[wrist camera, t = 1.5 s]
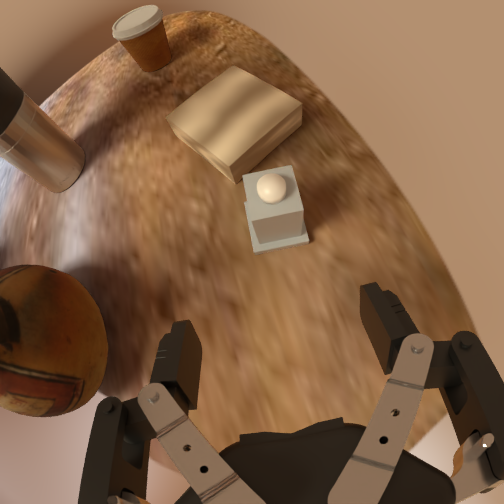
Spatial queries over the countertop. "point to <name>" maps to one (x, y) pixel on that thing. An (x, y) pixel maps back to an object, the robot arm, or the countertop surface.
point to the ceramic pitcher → (48, 342)
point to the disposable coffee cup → (144, 37)
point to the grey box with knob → (274, 210)
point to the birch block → (236, 121)
